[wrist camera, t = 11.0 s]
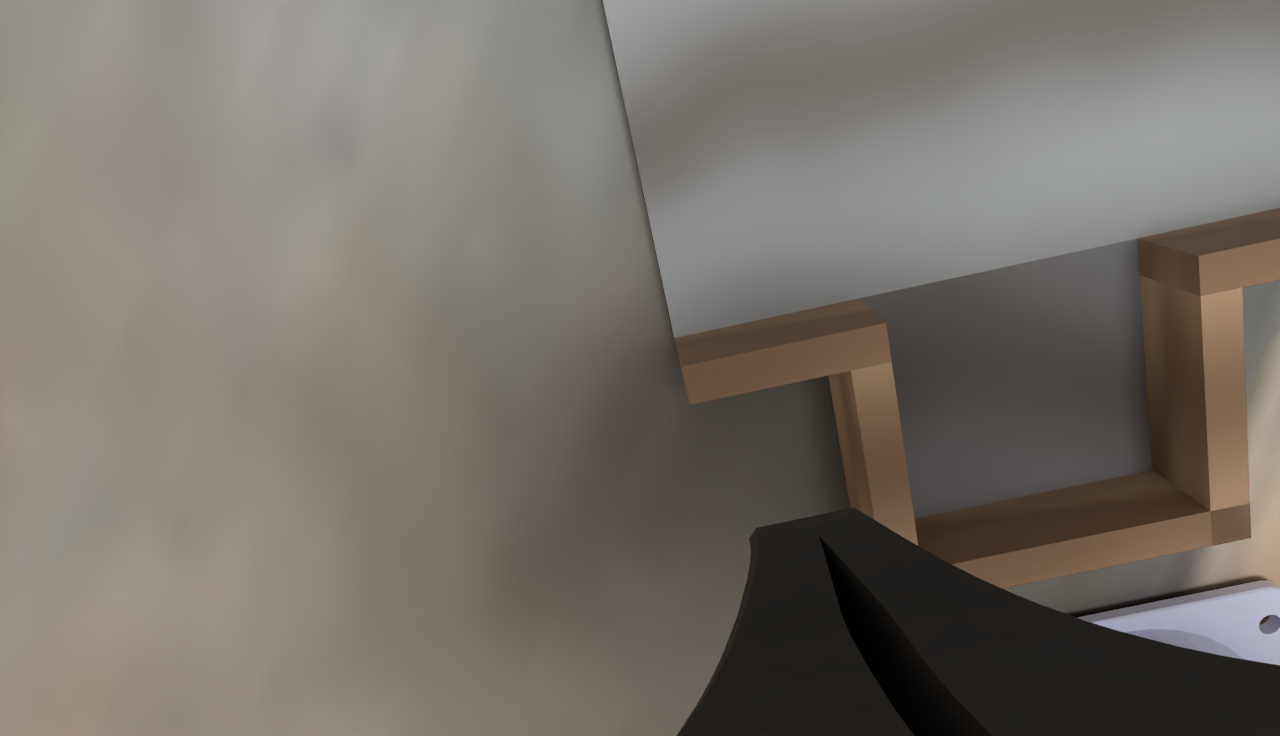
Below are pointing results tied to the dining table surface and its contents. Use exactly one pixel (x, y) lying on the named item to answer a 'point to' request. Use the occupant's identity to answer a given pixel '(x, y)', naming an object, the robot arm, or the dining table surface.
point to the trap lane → (976, 250)
